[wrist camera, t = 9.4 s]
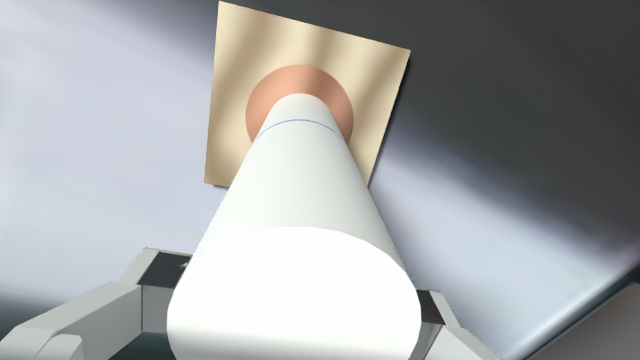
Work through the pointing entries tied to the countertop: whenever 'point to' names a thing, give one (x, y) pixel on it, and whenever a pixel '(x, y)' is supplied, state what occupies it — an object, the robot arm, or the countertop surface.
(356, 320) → the cylindrical container
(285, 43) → the seat board
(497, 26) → the countertop surface
